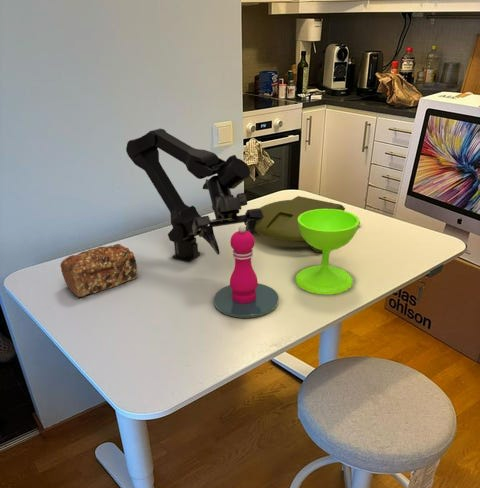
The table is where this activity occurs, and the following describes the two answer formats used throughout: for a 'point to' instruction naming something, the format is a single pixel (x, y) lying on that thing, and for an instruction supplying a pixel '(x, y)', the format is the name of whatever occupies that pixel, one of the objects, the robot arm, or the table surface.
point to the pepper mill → (243, 267)
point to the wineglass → (326, 248)
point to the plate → (260, 306)
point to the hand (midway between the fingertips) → (235, 251)
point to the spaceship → (289, 217)
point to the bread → (98, 269)
